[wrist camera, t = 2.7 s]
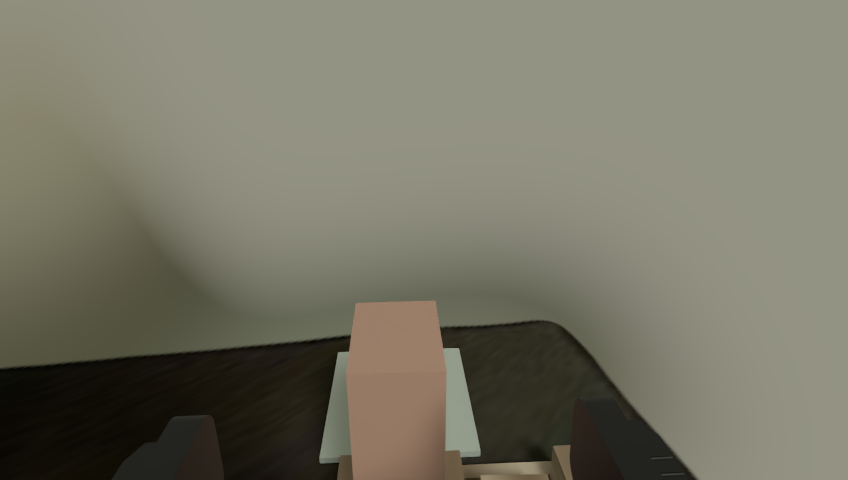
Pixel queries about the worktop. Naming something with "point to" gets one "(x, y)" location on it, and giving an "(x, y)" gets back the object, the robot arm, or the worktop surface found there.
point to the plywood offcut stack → (515, 477)
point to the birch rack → (488, 467)
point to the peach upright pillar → (397, 392)
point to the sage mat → (457, 412)
